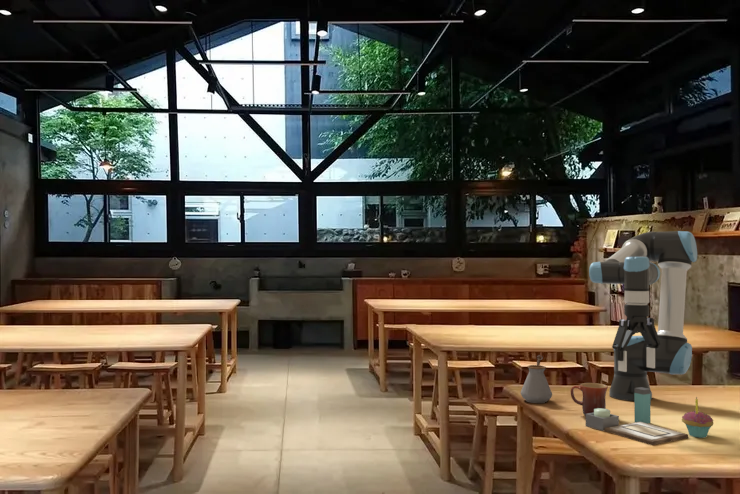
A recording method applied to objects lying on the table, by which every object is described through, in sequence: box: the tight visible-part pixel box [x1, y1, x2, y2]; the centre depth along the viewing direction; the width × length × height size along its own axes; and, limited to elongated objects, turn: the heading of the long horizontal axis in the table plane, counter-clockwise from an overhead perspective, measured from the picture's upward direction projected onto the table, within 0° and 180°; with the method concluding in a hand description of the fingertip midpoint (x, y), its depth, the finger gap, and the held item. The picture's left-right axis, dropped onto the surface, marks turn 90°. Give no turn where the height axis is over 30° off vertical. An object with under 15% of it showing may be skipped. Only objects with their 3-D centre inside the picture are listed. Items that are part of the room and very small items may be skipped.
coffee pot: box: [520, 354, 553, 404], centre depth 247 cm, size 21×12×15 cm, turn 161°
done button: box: [594, 408, 611, 418], centre depth 206 cm, size 5×5×4 cm
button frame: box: [585, 413, 620, 432], centre depth 206 cm, size 7×7×4 cm
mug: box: [570, 382, 608, 417], centre depth 221 cm, size 12×9×10 cm
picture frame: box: [604, 421, 689, 446], centre depth 197 cm, size 16×17×1 cm
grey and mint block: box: [633, 387, 652, 424], centre depth 212 cm, size 3×3×11 cm
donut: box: [681, 396, 714, 439], centre depth 197 cm, size 9×8×12 cm
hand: (636, 369), depth 212 cm, fingers open, 13 cm apart
